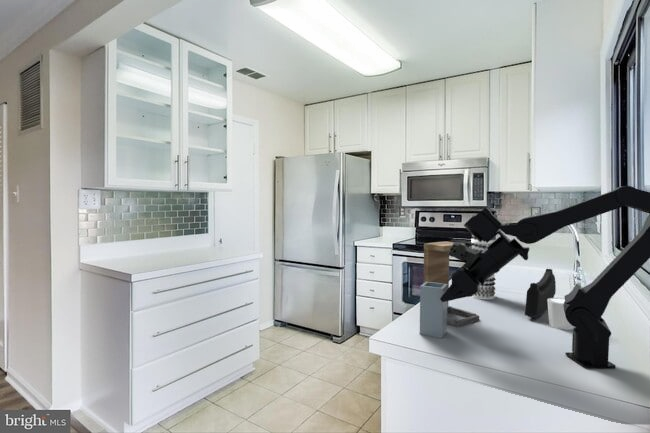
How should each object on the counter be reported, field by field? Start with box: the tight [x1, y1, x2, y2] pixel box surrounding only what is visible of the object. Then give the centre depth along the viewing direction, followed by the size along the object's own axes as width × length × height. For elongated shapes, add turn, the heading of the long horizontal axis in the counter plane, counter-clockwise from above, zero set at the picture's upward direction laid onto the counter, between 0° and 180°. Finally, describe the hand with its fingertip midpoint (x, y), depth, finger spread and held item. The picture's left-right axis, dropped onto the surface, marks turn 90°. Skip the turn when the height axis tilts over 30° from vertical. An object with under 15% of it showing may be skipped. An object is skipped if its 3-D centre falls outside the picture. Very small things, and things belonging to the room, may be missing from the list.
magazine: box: [524, 268, 557, 319], centre depth 115 cm, size 17×3×30 cm
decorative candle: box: [468, 234, 496, 301], centre depth 129 cm, size 9×9×25 cm
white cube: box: [547, 297, 575, 331], centre depth 99 cm, size 7×7×7 cm
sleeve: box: [419, 282, 448, 339], centre depth 94 cm, size 6×6×12 cm
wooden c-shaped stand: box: [422, 241, 480, 328], centre depth 106 cm, size 12×10×22 cm
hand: (445, 296), depth 93 cm, fingers open, 9 cm apart
